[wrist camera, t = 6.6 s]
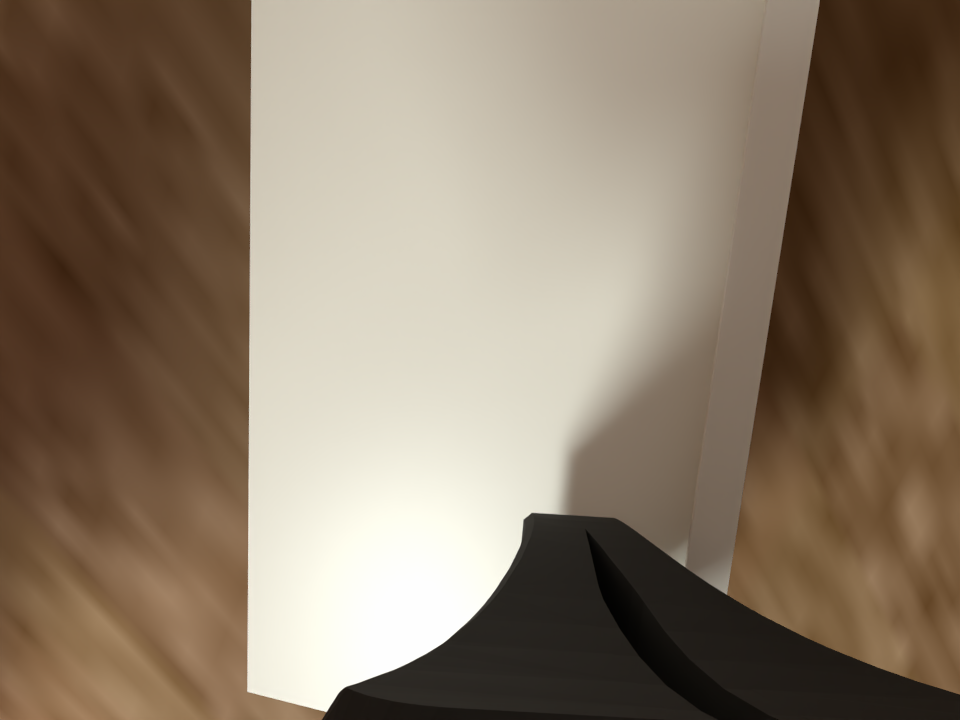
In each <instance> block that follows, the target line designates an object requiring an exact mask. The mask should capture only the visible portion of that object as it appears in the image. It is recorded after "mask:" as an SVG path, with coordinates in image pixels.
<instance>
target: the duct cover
mask: <svg viewBox="0 0 960 720" xmlns="http://www.w3.org/2000/svg"><path fill="white" fill-rule="evenodd" d="M819 3H820V0H252V2H251V174H250V347H249V519H248V691H247V692H250V693H254V694H258V695H262V696H266V697H270V698H274V699H278V700H282V701H286V702H290V703H294V704H298V705H301V706H305V707H309V708H313V709H317V710H321V711H325V712H327V711H328V709H329V707H330V706H331V704H332V703H333V701H334V700H335V698H336V696H337V695H338V693H339V692H340V691H341V690H342V689H343V688H345V687H346V686H350V685H353V684H356V683H359V682H362V681H365V680H367V679H370V678H373V677H376V676H378V675H381V674H384V673H386V672H389V671H392V670H394V669H397V668H399V667H401V666H403V665H405V664H408V663H410V662H411V661H413V660H415V659H417V658H419V657H421V656H423V655H425V654H427V653H428V652H430V651H431V650H433V649H435V648H436V647H438V646H439V645H441V644H443V643H444V642H445V641H446V640H448V639H449V638H450V637H451V636H452V635H453V634H455V633H456V632H457V631H458V630H459V629H460V628H461V627H463V626H464V625H465V624H466V623H467V622H468V621H469V620H470V619H471V618H472V617H473V616H474V615H475V614H476V613H477V612H478V611H479V609H480V608H481V607H482V606H483V605H484V604H485V603H486V601H487V600H488V599H489V597H490V596H491V595H492V594H493V592H494V591H495V589H496V588H497V586H498V585H499V583H500V582H501V580H502V579H503V577H504V576H505V574H506V573H507V571H508V570H509V568H510V566H511V564H512V562H513V560H514V558H515V556H516V554H517V552H518V550H519V548H520V545H521V542H522V531H523V520H524V519H525V518H526V517H527V516H529V515H530V514H531V513H544V514H560V515H577V516H593V517H609V518H616V519H618V520H620V521H622V522H623V523H625V524H626V525H628V526H629V527H631V528H632V529H634V530H635V531H636V532H638V533H639V534H641V535H642V536H643V537H645V538H646V539H647V540H649V541H650V542H651V543H653V544H654V545H655V546H657V547H658V548H659V549H661V550H662V551H663V552H665V553H666V554H668V555H669V556H670V557H672V558H673V559H674V560H676V561H677V562H679V563H680V564H681V565H683V566H684V567H686V568H687V569H688V570H690V571H691V572H693V573H694V574H696V575H697V576H699V577H700V578H702V579H703V580H704V581H706V582H707V583H709V584H710V585H712V586H714V587H715V588H717V589H718V590H720V591H722V592H723V593H725V594H726V595H727V589H728V583H729V577H730V570H731V564H732V558H733V551H734V545H735V538H736V532H737V526H738V519H739V513H740V507H741V500H742V494H743V487H744V481H745V475H746V468H747V462H748V456H749V449H750V443H751V437H752V430H753V424H754V417H755V411H756V405H757V398H758V392H759V386H760V379H761V373H762V366H763V360H764V354H765V347H766V341H767V335H768V328H769V322H770V315H771V309H772V303H773V296H774V290H775V284H776V277H777V271H778V264H779V258H780V252H781V245H782V239H783V233H784V226H785V220H786V213H787V207H788V201H789V194H790V188H791V182H792V175H793V169H794V162H795V156H796V150H797V143H798V137H799V131H800V124H801V118H802V112H803V105H804V99H805V92H806V86H807V80H808V73H809V67H810V61H811V54H812V48H813V41H814V35H815V29H816V22H817V16H818V10H819Z"/></svg>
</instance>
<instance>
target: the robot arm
mask: <svg viewBox="0 0 960 720" xmlns="http://www.w3.org/2000/svg"><path fill="white" fill-rule="evenodd" d="M322 720H960V695H959V694H956V693H953V692H949V691H946V690H943V689H940V688H936V687H933V686H930V685H927V684H923V683H920V682H917V681H914V680H911V679H908V678H905V677H903V676H900V675H897V674H894V673H891V672H888V671H885V670H883V669H880V668H877V667H875V666H872V665H870V664H867V663H865V662H862V661H860V660H857V659H855V658H852V657H850V656H847V655H845V654H842V653H840V652H837V651H835V650H832V649H830V648H828V647H825V646H823V645H821V644H819V643H816V642H814V641H812V640H810V639H808V638H805V637H803V636H801V635H799V634H797V633H795V632H793V631H791V630H789V629H787V628H785V627H784V626H782V625H780V624H778V623H776V622H774V621H772V620H770V619H768V618H766V617H764V616H762V615H760V614H758V613H757V612H755V611H753V610H751V609H749V608H748V607H746V606H744V605H743V604H741V603H739V602H738V601H736V600H734V599H733V598H731V597H730V596H728V595H726V594H725V593H723V592H722V591H720V590H718V589H717V588H715V587H714V586H712V585H710V584H709V583H707V582H706V581H704V580H703V579H702V578H700V577H699V576H697V575H696V574H694V573H693V572H691V571H690V570H688V569H687V568H686V567H684V566H683V565H681V564H680V563H679V562H677V561H676V560H674V559H673V558H672V557H670V556H669V555H668V554H666V553H665V552H663V551H662V550H661V549H659V548H658V547H657V546H655V545H654V544H653V543H651V542H650V541H649V540H647V539H646V538H645V537H643V536H642V535H641V534H639V533H638V532H636V531H635V530H634V529H632V528H631V527H629V526H628V525H626V524H625V523H623V522H622V521H620V520H618V519H616V518H609V517H593V516H577V515H560V514H544V513H531V514H530V515H529V516H527V517H526V518H525V519H524V520H523V531H522V542H521V545H520V548H519V550H518V552H517V554H516V556H515V558H514V560H513V562H512V564H511V566H510V568H509V570H508V571H507V573H506V574H505V576H504V577H503V579H502V580H501V582H500V583H499V585H498V586H497V588H496V589H495V591H494V592H493V594H492V595H491V596H490V597H489V599H488V600H487V601H486V603H485V604H484V605H483V606H482V607H481V608H480V609H479V611H478V612H477V613H476V614H475V615H474V616H473V617H472V618H471V619H470V620H469V621H468V622H467V623H466V624H465V625H464V626H463V627H461V628H460V629H459V630H458V631H457V632H456V633H455V634H453V635H452V636H451V637H450V638H449V639H448V640H446V641H445V642H444V643H443V644H441V645H439V646H438V647H436V648H435V649H433V650H431V651H430V652H428V653H427V654H425V655H423V656H421V657H419V658H417V659H415V660H413V661H411V662H410V663H408V664H405V665H403V666H401V667H399V668H397V669H394V670H392V671H389V672H386V673H384V674H381V675H378V676H376V677H373V678H370V679H367V680H365V681H362V682H359V683H356V684H353V685H350V686H346V687H345V688H343V689H342V690H341V691H340V692H339V693H338V695H337V696H336V698H335V700H334V701H333V703H332V704H331V706H330V707H329V709H328V711H327V712H326V714H325V716H324V717H323V719H322Z"/></svg>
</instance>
